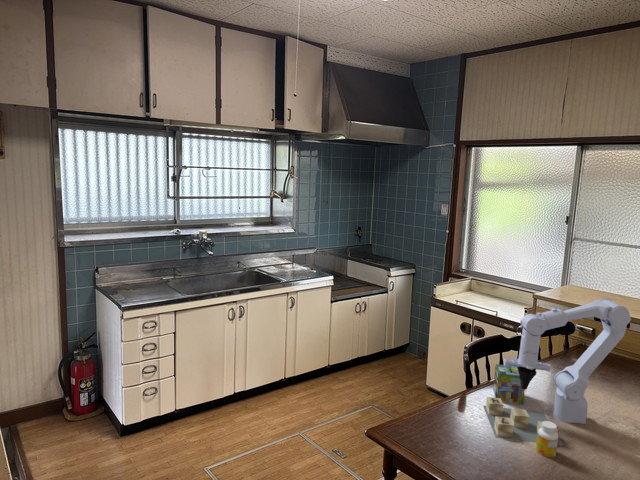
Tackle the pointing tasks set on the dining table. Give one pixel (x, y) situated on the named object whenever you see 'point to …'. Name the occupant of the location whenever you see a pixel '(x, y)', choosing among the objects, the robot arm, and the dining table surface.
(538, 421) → the tan cube
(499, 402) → the block four
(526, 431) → the mat
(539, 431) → the supplement bottle
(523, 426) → the plain block
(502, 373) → the chalk box
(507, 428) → the block seven
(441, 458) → the dining table surface
